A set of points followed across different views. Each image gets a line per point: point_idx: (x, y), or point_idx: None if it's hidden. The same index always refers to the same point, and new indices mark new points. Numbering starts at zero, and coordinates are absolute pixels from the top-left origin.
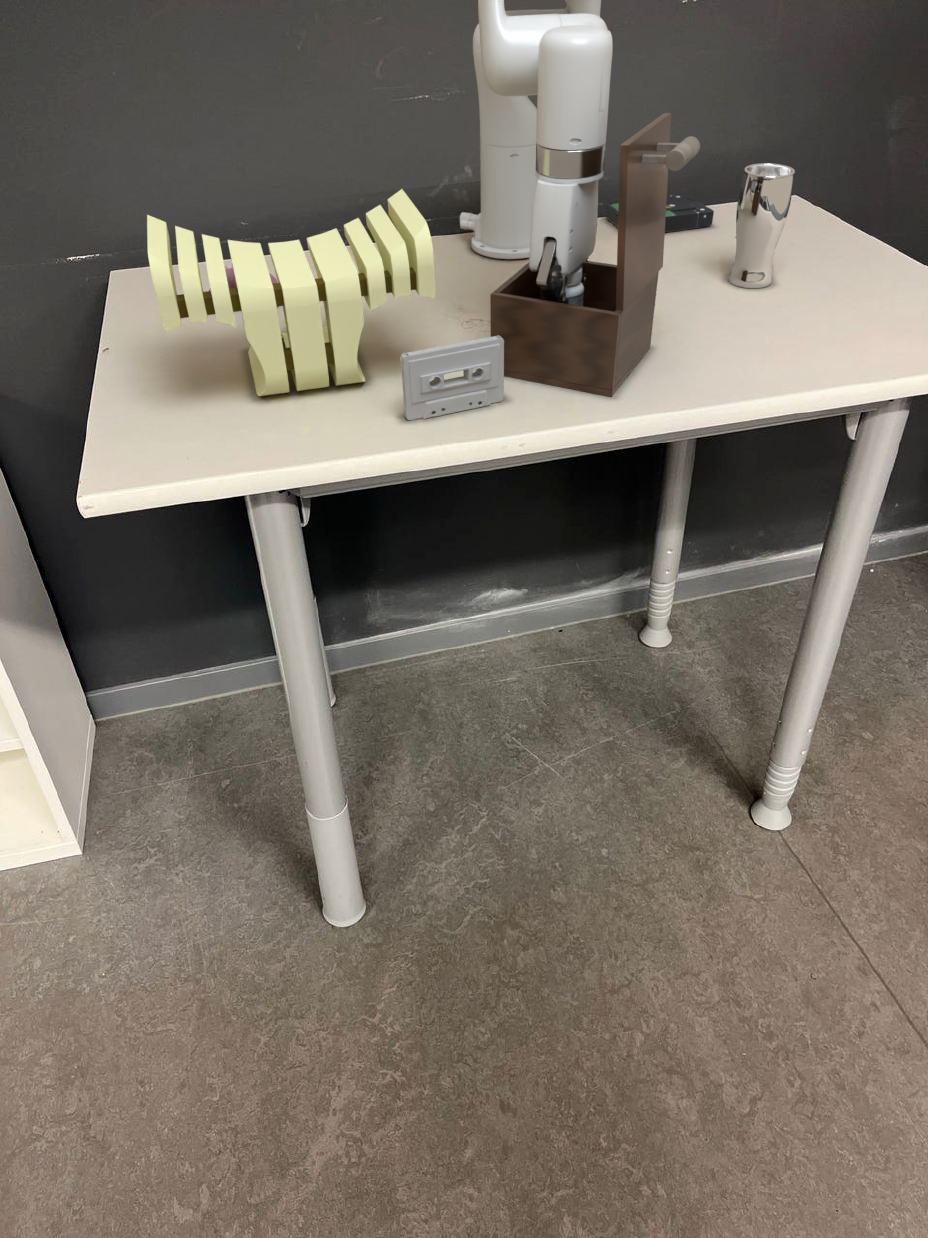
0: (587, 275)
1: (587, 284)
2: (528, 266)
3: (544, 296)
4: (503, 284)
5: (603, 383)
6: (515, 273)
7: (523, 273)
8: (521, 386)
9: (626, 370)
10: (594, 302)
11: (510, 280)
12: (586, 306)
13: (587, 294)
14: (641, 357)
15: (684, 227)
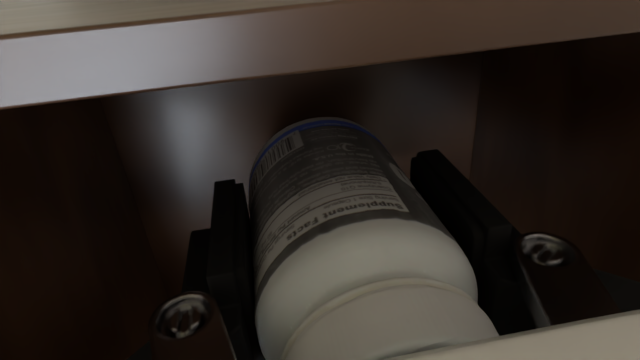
0: (618, 268)
1: (586, 243)
2: (570, 23)
3: (142, 348)
4: (18, 51)
5: None
6: (360, 3)
7: (412, 58)
8: None
9: None
10: (531, 229)
11: (163, 59)
12: (524, 192)
13: (555, 219)
14: None
15: None
